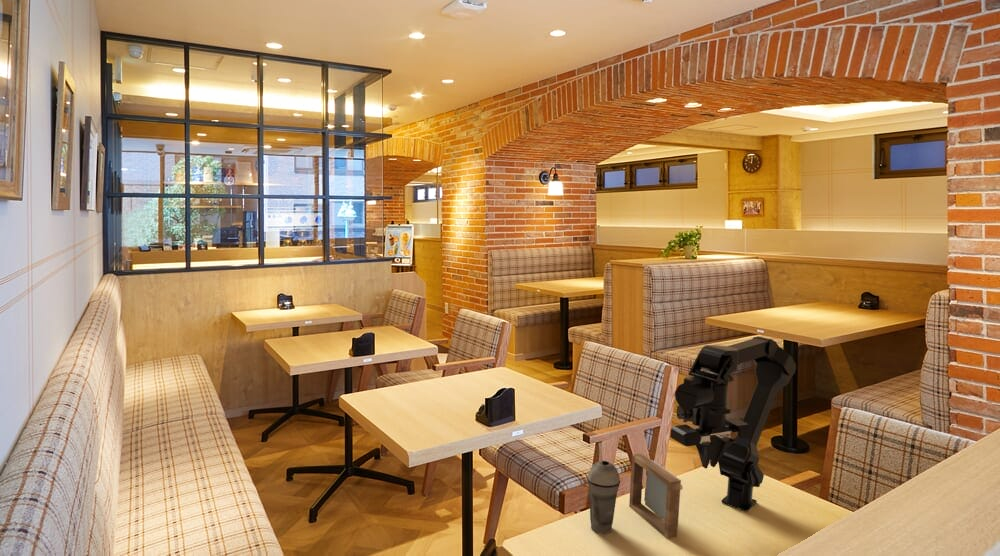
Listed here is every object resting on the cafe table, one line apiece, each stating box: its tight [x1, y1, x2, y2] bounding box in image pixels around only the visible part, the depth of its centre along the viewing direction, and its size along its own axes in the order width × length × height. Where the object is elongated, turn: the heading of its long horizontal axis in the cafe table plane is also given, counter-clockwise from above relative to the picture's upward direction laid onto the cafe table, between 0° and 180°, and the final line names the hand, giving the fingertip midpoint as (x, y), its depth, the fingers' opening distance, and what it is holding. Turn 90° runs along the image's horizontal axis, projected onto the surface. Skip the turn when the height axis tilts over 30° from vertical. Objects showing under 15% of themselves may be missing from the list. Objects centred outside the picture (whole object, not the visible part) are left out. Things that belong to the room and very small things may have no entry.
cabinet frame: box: [628, 453, 681, 540], centre depth 139 cm, size 2×15×13 cm, turn 21°
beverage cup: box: [586, 441, 621, 535], centre depth 134 cm, size 7×7×20 cm
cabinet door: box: [644, 459, 683, 528], centre depth 139 cm, size 2×12×11 cm, turn 21°
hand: (708, 467), depth 140 cm, fingers closed
